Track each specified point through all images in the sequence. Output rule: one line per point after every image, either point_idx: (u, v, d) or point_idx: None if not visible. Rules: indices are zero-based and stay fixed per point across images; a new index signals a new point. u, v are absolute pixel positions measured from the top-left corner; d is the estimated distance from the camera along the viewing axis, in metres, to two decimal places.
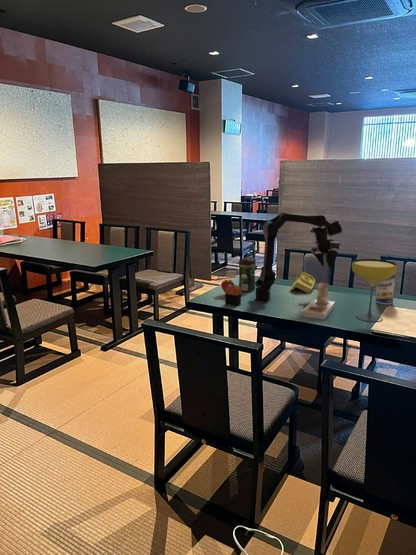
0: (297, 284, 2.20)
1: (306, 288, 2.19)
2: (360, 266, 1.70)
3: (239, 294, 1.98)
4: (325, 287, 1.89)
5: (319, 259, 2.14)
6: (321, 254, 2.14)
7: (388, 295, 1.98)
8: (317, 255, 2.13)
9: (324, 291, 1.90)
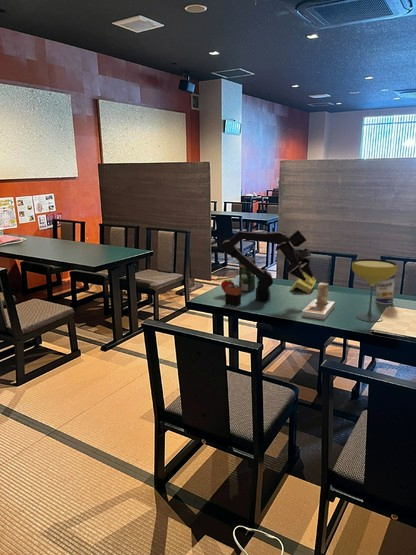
0: (297, 284, 2.20)
1: (306, 288, 2.19)
2: (360, 266, 1.70)
3: (239, 294, 1.98)
4: (325, 287, 1.89)
5: (306, 271, 2.01)
6: (306, 266, 2.01)
7: (388, 295, 1.98)
8: (302, 268, 2.03)
9: (324, 291, 1.90)
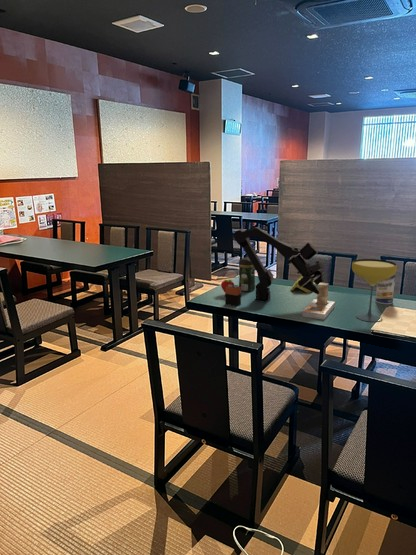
0: (297, 284, 2.21)
1: None
2: (360, 266, 1.70)
3: (239, 294, 1.98)
4: (325, 287, 1.89)
5: None
6: (319, 278, 1.98)
7: (388, 295, 1.98)
8: (315, 281, 1.99)
9: (324, 291, 1.90)
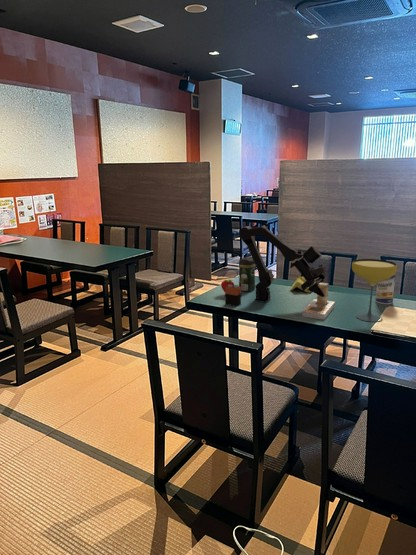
0: (297, 284, 2.21)
1: None
2: (360, 266, 1.70)
3: (239, 294, 1.98)
4: (325, 287, 1.89)
5: None
6: None
7: (388, 295, 1.98)
8: None
9: (324, 291, 1.90)
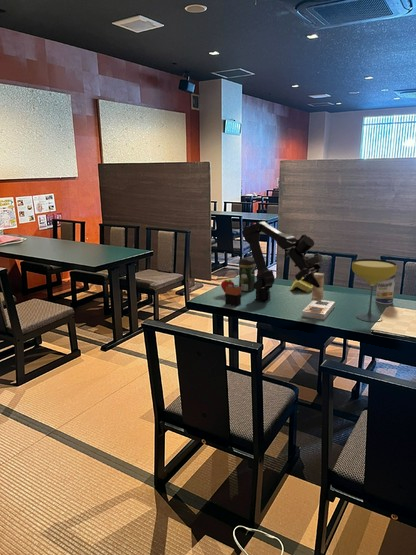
0: (297, 284, 2.21)
1: (306, 288, 2.20)
2: (360, 266, 1.70)
3: (239, 294, 1.98)
4: (321, 277, 1.79)
5: None
6: None
7: (388, 295, 1.98)
8: None
9: (320, 281, 1.80)
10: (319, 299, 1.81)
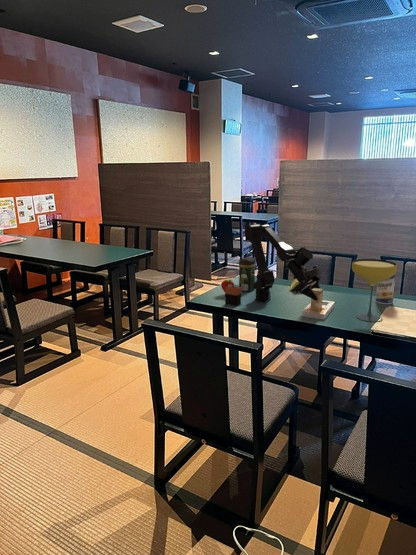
0: (297, 283, 2.21)
1: None
2: (360, 266, 1.70)
3: (239, 294, 1.98)
4: (319, 293, 1.80)
5: None
6: (315, 285, 1.86)
7: (388, 295, 1.98)
8: (311, 287, 1.88)
9: (318, 297, 1.81)
10: None
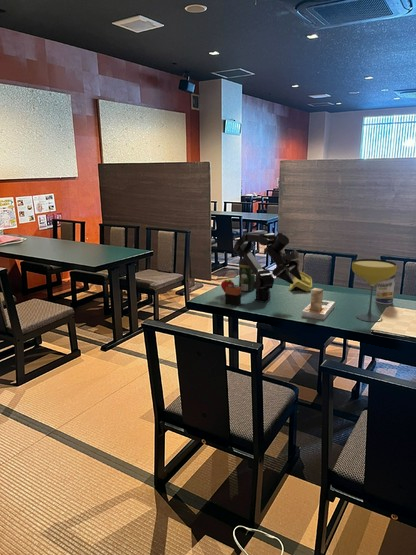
0: (297, 283, 2.22)
1: (306, 287, 2.21)
2: (360, 266, 1.70)
3: (239, 294, 1.98)
4: (319, 293, 1.80)
5: (294, 274, 1.95)
6: (294, 268, 1.95)
7: (388, 295, 1.98)
8: (291, 271, 1.97)
9: (318, 297, 1.81)
10: None
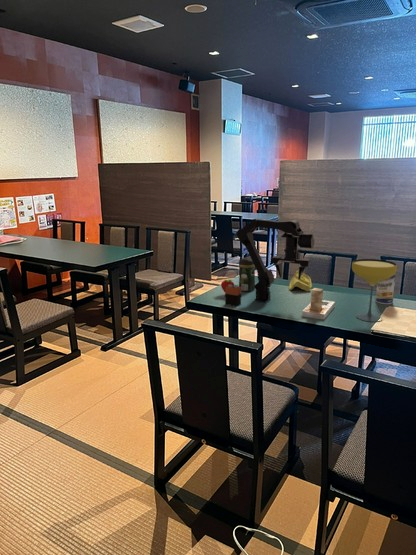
0: (297, 283, 2.22)
1: (306, 287, 2.22)
2: (360, 266, 1.70)
3: (239, 294, 1.98)
4: (319, 293, 1.80)
5: (280, 270, 1.98)
6: (281, 265, 2.00)
7: (388, 295, 1.98)
8: (279, 265, 1.98)
9: (318, 297, 1.81)
10: None
